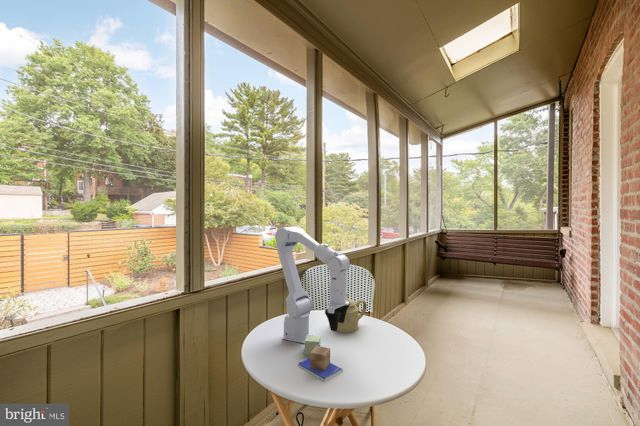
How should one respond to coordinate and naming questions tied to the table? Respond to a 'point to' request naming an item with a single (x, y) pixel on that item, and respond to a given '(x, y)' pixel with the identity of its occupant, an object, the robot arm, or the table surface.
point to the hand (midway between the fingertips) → (337, 326)
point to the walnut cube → (320, 358)
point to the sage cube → (311, 343)
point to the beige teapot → (352, 316)
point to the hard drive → (323, 375)
